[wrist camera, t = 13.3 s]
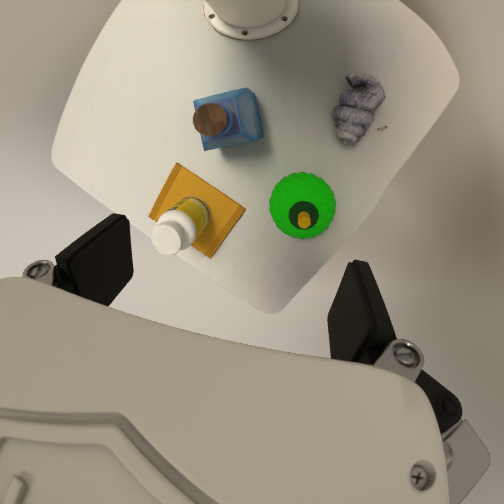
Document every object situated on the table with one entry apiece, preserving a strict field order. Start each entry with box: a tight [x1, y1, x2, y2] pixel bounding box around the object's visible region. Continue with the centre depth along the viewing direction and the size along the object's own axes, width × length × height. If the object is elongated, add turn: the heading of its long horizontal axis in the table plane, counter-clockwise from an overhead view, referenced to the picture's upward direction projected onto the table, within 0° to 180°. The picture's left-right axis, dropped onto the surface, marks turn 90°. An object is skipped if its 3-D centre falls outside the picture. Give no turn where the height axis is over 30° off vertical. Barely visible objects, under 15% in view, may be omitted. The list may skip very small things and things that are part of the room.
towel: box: [149, 163, 245, 258], centre depth 39 cm, size 12×10×1 cm
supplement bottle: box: [151, 196, 210, 255], centre depth 35 cm, size 5×5×10 cm
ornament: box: [270, 172, 336, 239], centre depth 32 cm, size 8×8×10 cm
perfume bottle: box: [193, 88, 263, 151], centre depth 27 cm, size 6×6×12 cm
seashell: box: [332, 74, 385, 144], centre depth 28 cm, size 5×5×10 cm
